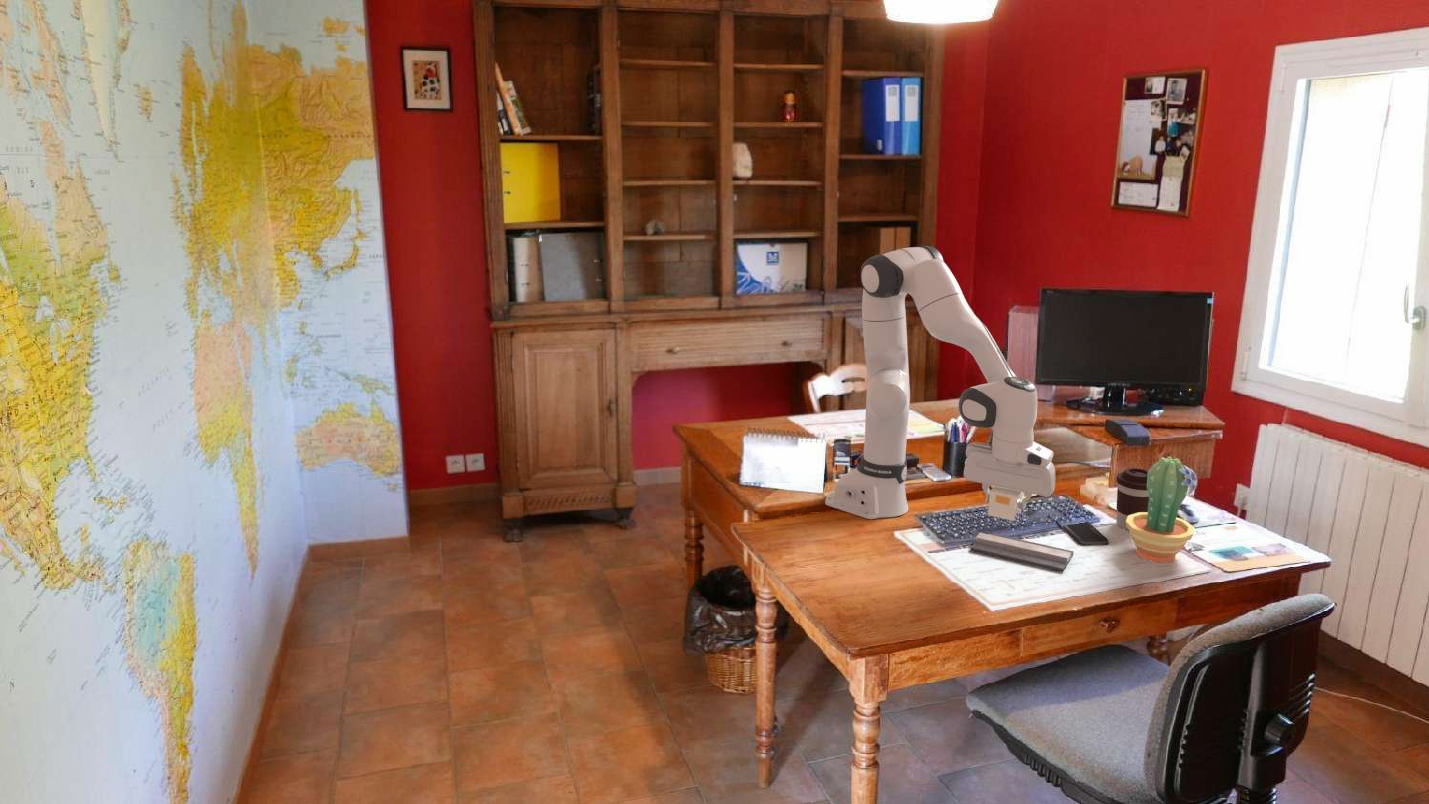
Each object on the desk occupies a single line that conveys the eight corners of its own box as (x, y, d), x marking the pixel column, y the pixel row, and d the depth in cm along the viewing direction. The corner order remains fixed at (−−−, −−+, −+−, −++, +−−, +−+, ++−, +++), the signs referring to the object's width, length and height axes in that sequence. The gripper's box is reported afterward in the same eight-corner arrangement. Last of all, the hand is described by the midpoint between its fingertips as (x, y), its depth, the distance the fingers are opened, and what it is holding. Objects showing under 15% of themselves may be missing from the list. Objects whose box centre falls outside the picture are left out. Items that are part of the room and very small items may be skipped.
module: (987, 515, 224) (989, 491, 222) (995, 506, 229) (997, 482, 228) (1013, 521, 221) (1016, 497, 219) (1020, 512, 226) (1023, 488, 225)
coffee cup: (1158, 534, 249) (1166, 479, 244) (1119, 533, 249) (1126, 478, 244) (1142, 518, 258) (1150, 465, 254) (1105, 518, 258) (1111, 465, 254)
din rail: (970, 551, 239) (971, 542, 238) (983, 535, 248) (984, 527, 247) (1062, 572, 228) (1063, 564, 227) (1073, 555, 237) (1074, 546, 236)
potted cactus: (1150, 572, 228) (1164, 472, 221) (1108, 544, 242) (1120, 450, 235) (1205, 564, 232) (1221, 466, 225) (1160, 538, 246) (1174, 444, 239)
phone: (1080, 542, 242) (1055, 518, 256) (1080, 546, 242) (1055, 522, 256) (1111, 541, 242) (1084, 517, 257) (1110, 545, 243) (1084, 521, 257)
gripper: (962, 443, 223) (957, 499, 227) (1054, 461, 213) (1046, 519, 217) (971, 436, 228) (965, 491, 232) (1060, 453, 218) (1053, 510, 222)
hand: (1005, 505), depth 225 cm, fingers closed on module, 6 cm apart
